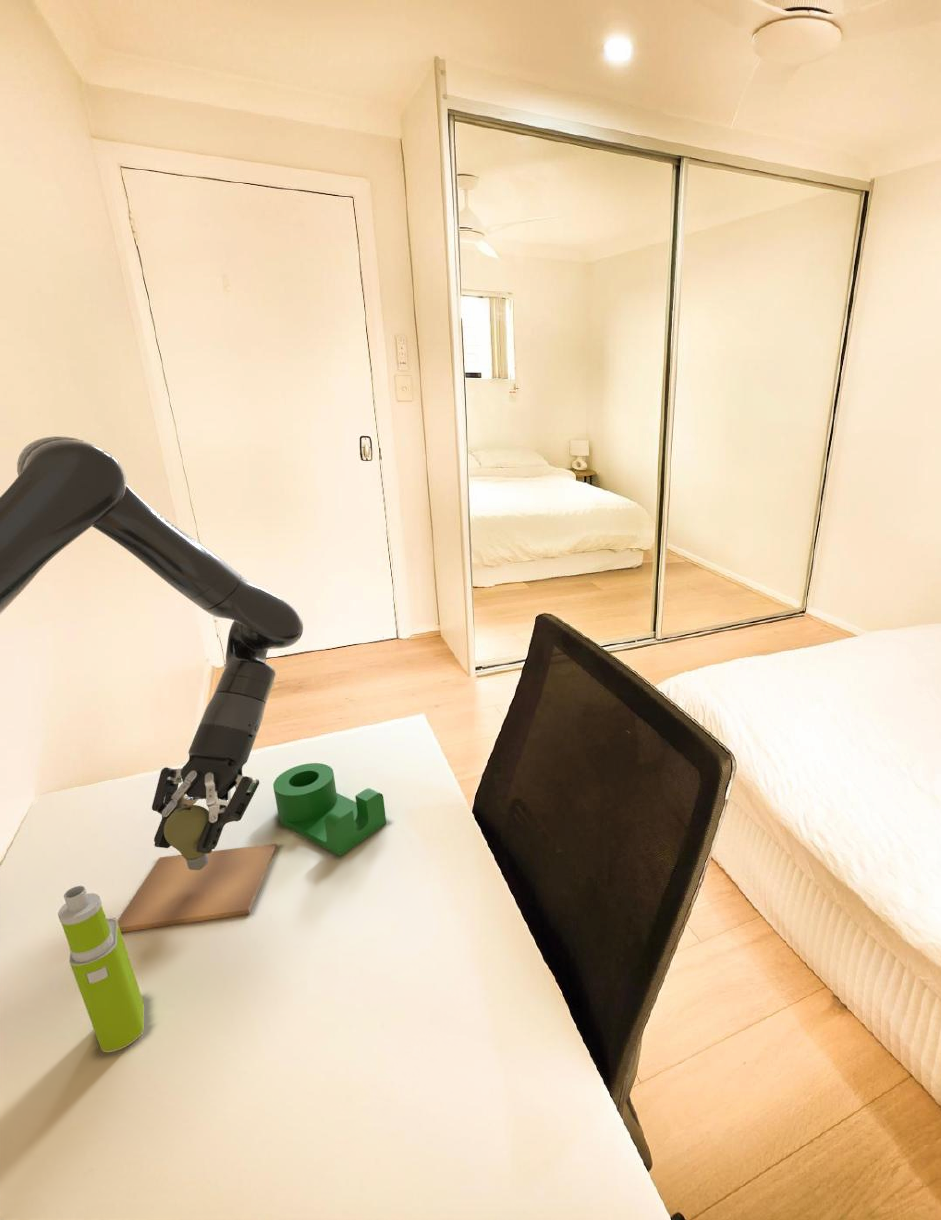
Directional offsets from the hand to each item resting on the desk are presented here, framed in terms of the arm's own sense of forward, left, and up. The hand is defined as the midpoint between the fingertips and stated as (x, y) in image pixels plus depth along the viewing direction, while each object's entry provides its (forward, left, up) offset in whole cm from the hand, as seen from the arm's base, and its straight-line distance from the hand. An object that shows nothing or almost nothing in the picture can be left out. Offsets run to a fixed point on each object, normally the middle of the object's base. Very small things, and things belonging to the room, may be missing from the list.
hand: (182, 849), depth 81 cm
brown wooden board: (0, +2, -8) cm, 8 cm away
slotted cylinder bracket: (+15, +14, -8) cm, 21 cm away
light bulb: (+1, +2, -5) cm, 5 cm away
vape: (0, -19, -8) cm, 21 cm away
